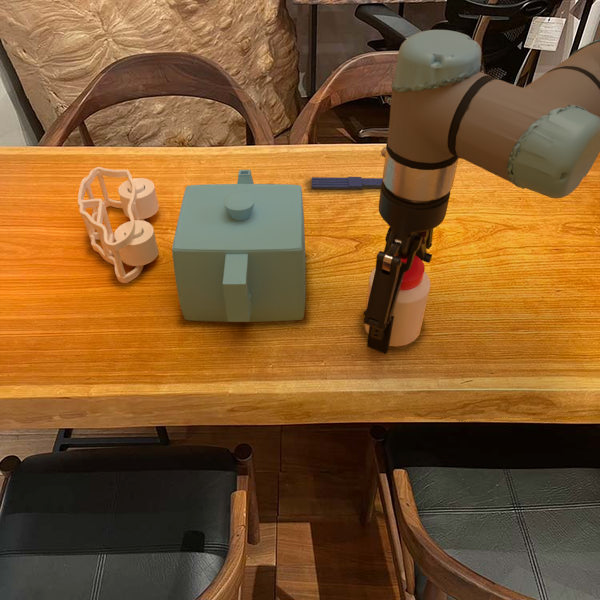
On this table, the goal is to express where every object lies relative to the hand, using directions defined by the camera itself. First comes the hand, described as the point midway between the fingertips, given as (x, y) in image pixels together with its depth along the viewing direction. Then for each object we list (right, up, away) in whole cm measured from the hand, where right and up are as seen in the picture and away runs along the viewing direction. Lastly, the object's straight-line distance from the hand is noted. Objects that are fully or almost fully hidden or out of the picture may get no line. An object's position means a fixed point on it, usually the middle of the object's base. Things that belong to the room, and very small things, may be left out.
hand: (392, 321), depth 79 cm
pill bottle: (0, -1, +1) cm, 1 cm away
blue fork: (0, +23, +23) cm, 33 cm away
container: (-20, +5, +7) cm, 22 cm away
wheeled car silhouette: (-40, +12, +13) cm, 44 cm away
